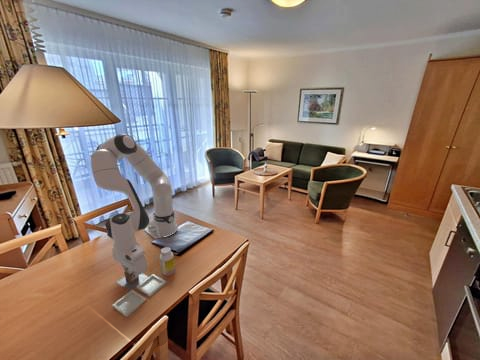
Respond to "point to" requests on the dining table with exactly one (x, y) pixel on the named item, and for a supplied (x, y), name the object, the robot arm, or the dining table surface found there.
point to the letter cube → (130, 276)
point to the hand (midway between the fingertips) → (131, 273)
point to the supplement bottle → (167, 261)
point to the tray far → (129, 303)
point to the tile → (134, 284)
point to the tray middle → (151, 285)
